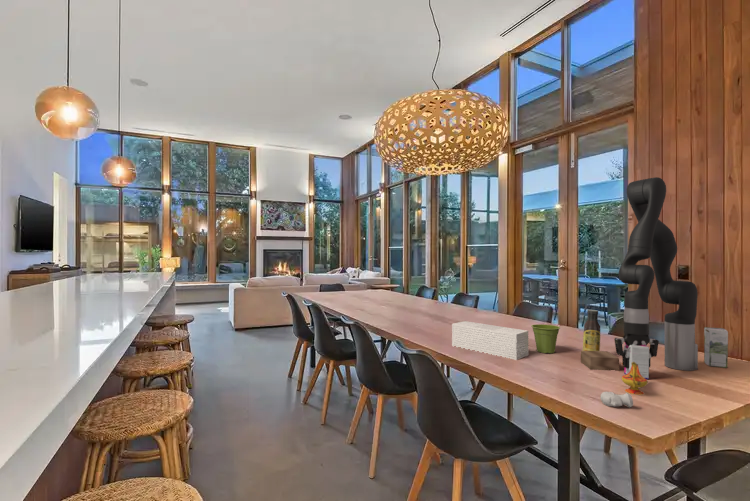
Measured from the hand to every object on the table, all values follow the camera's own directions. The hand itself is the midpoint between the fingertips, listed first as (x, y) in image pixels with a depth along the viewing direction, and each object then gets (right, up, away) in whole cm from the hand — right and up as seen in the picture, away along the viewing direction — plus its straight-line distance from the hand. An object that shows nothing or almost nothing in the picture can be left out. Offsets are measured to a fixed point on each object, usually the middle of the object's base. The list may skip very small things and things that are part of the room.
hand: (636, 367), depth 139 cm
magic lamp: (-10, -3, -14) cm, 17 cm away
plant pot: (-17, -3, +35) cm, 39 cm away
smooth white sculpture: (-23, -3, -26) cm, 36 cm away
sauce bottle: (-2, -3, +25) cm, 26 cm away
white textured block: (-42, -4, +37) cm, 56 cm away
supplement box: (0, -3, 0) cm, 3 cm away
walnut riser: (-6, -3, +13) cm, 14 cm away
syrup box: (+40, -3, +14) cm, 43 cm away
